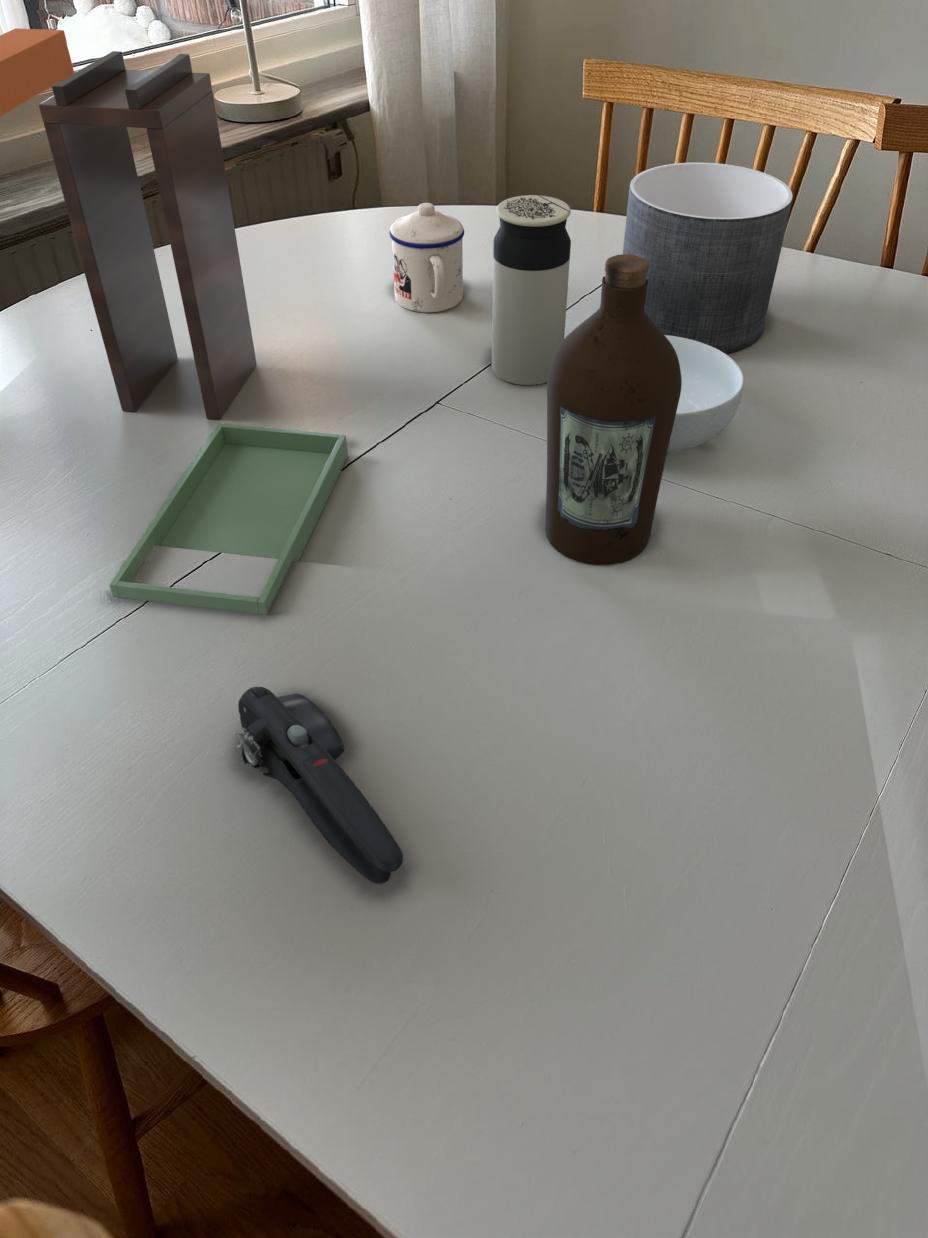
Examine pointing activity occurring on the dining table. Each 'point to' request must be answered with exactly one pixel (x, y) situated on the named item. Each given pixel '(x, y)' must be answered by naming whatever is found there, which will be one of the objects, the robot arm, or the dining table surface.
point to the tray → (241, 508)
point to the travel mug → (529, 287)
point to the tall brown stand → (119, 232)
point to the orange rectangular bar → (31, 64)
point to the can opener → (316, 777)
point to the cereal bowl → (703, 393)
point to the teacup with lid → (427, 260)
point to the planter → (708, 248)
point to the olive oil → (609, 423)
